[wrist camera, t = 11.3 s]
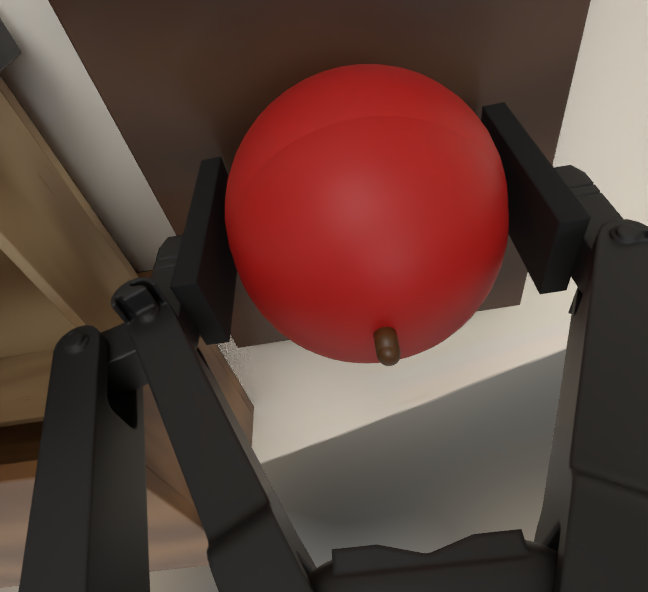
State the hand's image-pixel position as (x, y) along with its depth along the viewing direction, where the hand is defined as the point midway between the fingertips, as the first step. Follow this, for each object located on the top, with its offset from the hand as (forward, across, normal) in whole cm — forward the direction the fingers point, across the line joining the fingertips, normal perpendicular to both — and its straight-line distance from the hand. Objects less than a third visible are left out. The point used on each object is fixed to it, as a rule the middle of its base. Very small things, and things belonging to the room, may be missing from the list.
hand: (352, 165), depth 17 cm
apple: (+1, 0, 0) cm, 1 cm away
